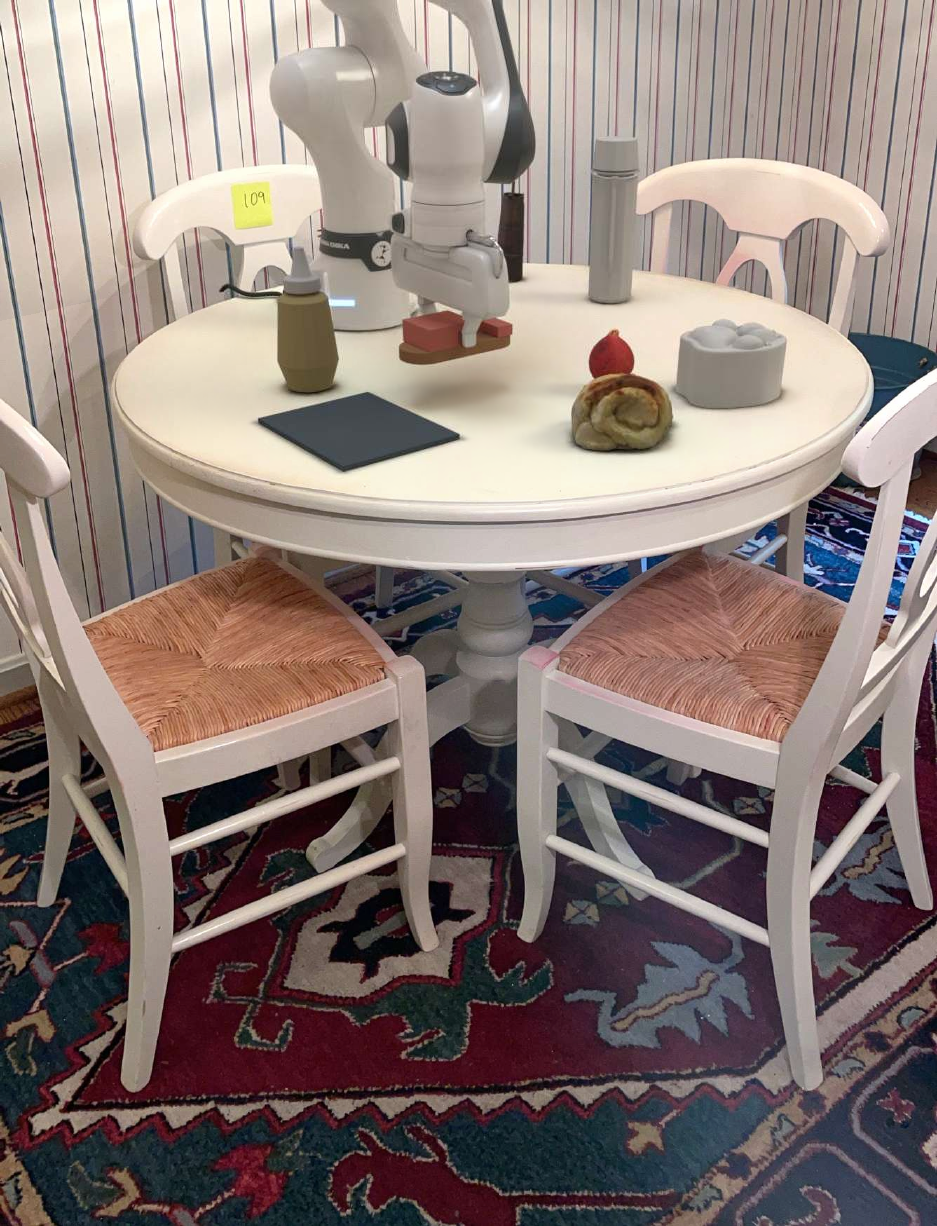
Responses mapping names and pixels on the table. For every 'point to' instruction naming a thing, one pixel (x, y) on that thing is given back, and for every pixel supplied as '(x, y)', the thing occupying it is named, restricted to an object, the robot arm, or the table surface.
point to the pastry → (621, 413)
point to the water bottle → (613, 218)
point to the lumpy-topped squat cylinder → (730, 365)
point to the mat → (357, 430)
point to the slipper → (448, 338)
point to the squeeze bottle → (305, 330)
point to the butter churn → (512, 233)
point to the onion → (611, 356)
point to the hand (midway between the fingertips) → (449, 338)
